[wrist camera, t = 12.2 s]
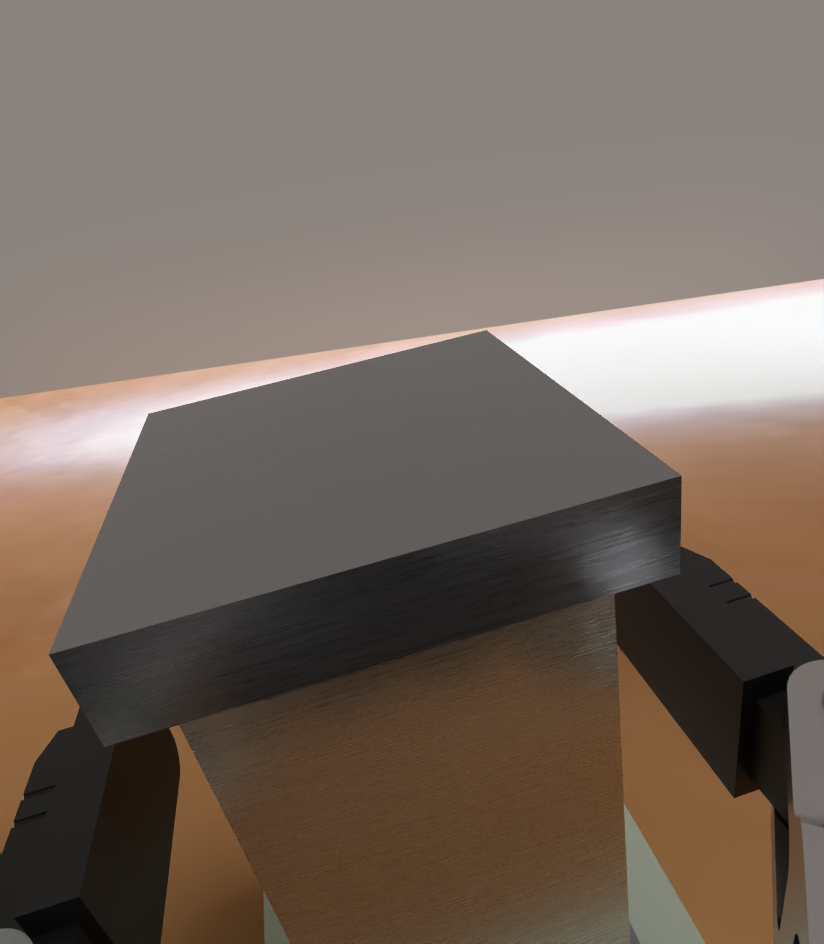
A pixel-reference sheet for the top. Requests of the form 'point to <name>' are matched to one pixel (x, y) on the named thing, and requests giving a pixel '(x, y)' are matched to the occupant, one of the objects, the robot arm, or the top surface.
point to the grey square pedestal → (388, 639)
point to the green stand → (649, 899)
